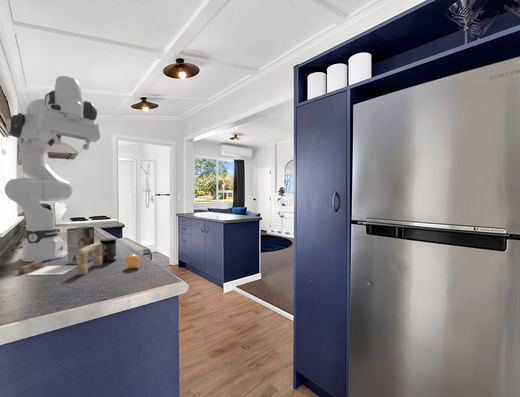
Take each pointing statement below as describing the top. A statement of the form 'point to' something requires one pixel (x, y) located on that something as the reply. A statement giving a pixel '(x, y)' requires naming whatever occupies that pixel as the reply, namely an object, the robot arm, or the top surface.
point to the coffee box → (79, 242)
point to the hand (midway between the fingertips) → (72, 146)
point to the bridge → (83, 257)
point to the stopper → (30, 267)
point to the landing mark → (53, 270)
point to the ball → (132, 261)
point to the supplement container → (108, 249)
